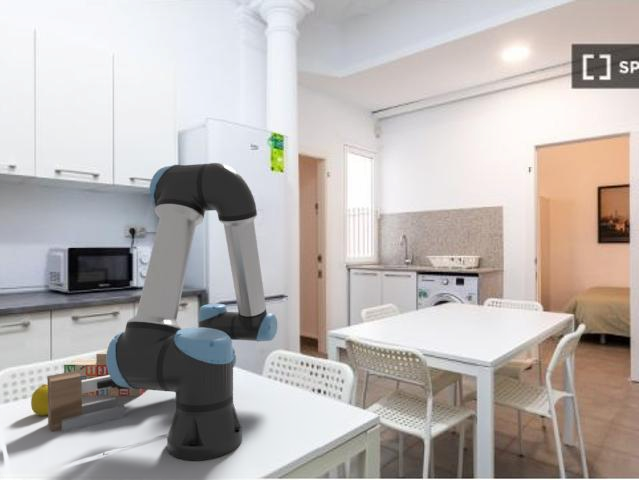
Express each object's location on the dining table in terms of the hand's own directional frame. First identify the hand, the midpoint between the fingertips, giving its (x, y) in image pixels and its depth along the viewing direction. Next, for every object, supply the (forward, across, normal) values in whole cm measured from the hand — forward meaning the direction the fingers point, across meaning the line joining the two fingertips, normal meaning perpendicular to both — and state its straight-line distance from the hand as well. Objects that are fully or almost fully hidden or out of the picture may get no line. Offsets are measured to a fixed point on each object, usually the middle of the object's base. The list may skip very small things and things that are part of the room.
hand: (80, 387), depth 102 cm
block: (+3, 0, -8) cm, 8 cm away
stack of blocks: (-10, +17, -9) cm, 21 cm away
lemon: (+6, +10, -9) cm, 14 cm away
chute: (-2, 0, -8) cm, 9 cm away
